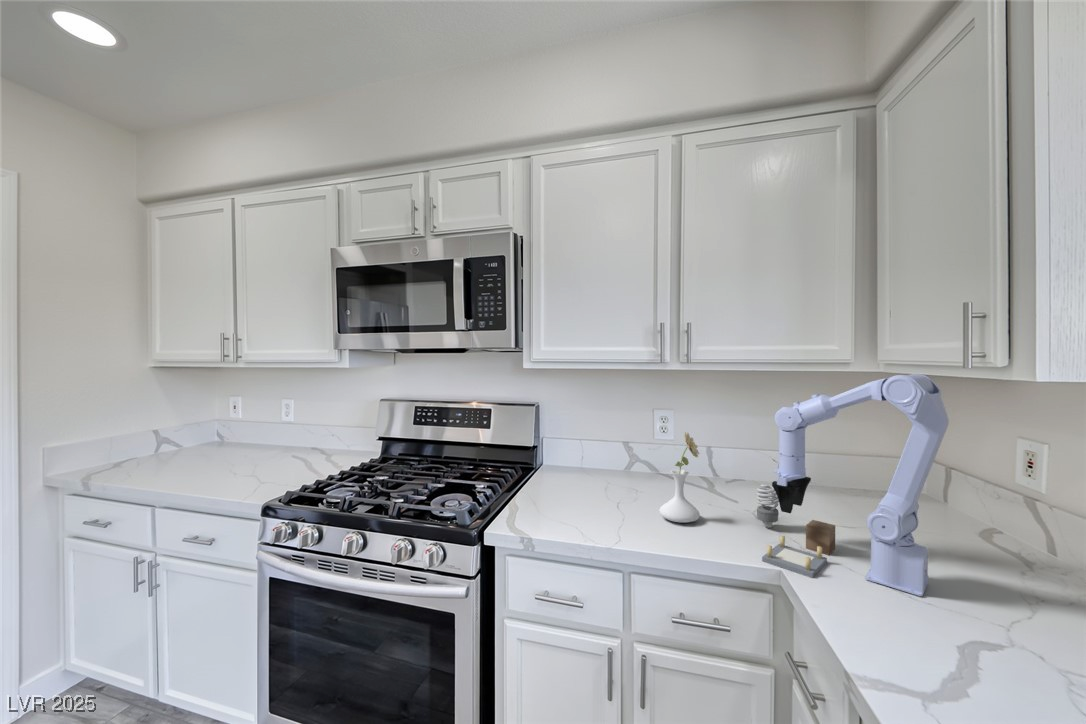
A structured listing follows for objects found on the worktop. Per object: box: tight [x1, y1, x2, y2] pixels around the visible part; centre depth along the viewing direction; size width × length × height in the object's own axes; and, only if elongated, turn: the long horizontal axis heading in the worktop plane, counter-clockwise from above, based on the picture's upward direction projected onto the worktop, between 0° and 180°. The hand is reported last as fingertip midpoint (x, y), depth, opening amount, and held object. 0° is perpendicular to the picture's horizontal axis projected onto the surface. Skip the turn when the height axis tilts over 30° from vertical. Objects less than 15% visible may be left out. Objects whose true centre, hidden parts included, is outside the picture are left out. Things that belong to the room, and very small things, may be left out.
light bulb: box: [755, 484, 779, 529], centre depth 123 cm, size 6×6×12 cm
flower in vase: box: [658, 431, 701, 524], centre depth 130 cm, size 13×11×25 cm
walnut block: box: [805, 519, 836, 556], centre depth 110 cm, size 5×5×6 cm
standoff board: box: [761, 535, 828, 579], centre depth 103 cm, size 10×10×4 cm
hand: (791, 508), depth 112 cm, fingers open, 7 cm apart
